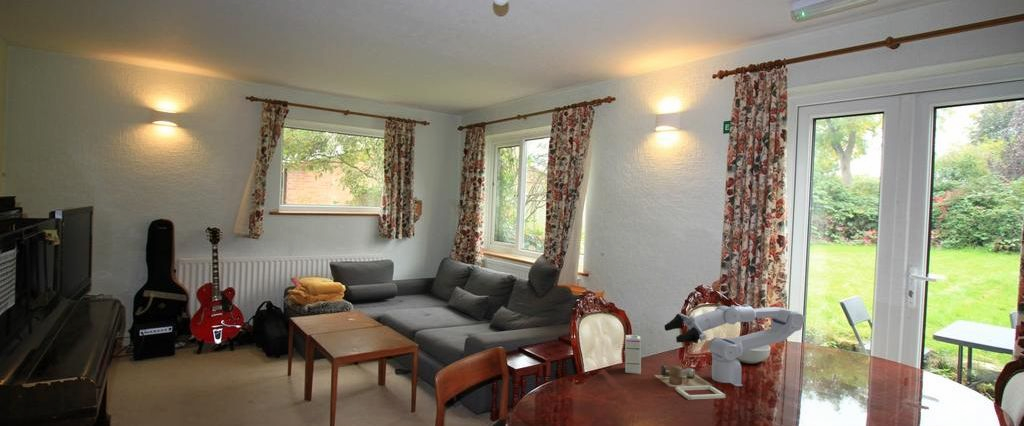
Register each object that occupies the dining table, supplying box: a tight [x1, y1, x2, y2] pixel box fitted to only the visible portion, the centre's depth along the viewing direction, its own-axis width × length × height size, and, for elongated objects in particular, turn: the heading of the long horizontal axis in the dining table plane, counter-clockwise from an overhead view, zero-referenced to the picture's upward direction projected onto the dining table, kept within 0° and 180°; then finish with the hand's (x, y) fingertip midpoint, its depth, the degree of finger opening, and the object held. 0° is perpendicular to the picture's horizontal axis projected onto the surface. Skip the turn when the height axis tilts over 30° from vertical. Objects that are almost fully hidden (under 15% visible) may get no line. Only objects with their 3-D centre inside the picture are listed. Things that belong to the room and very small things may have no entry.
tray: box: [674, 385, 727, 401], centre depth 166 cm, size 13×9×2 cm
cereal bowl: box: [736, 345, 771, 364], centre depth 210 cm, size 17×17×7 cm
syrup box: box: [624, 334, 642, 375], centre depth 189 cm, size 6×6×14 cm
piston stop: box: [668, 365, 683, 385], centre depth 176 cm, size 4×4×6 cm
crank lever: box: [660, 364, 696, 378], centre depth 181 cm, size 13×3×4 cm, turn 99°
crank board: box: [654, 373, 713, 388], centre depth 179 cm, size 16×12×2 cm
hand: (670, 333), depth 177 cm, fingers open, 7 cm apart
